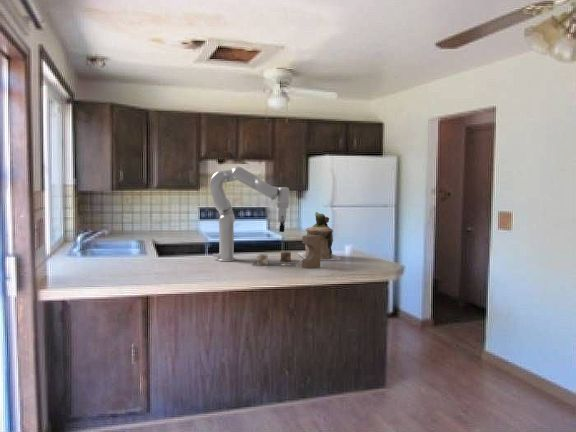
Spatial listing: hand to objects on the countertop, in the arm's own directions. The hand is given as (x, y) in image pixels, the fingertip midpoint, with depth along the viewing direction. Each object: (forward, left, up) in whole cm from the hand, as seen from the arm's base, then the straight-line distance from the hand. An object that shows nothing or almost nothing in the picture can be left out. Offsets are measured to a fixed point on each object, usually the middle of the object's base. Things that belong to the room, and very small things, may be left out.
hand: (281, 231), depth 331 cm
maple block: (-12, -15, -20) cm, 28 cm away
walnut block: (+3, -1, -20) cm, 20 cm away
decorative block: (+19, -22, -20) cm, 35 cm away
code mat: (-5, -15, -20) cm, 26 cm away
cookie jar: (+26, +12, -20) cm, 35 cm away
